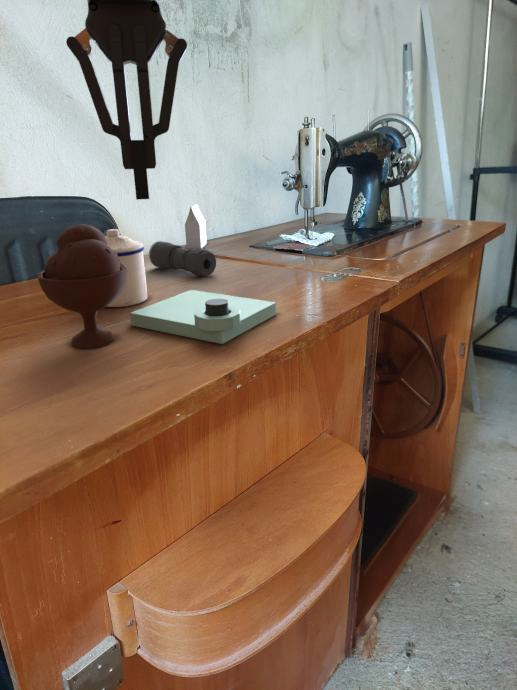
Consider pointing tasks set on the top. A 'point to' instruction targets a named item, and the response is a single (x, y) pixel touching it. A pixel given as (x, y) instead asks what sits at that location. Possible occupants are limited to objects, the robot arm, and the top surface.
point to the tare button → (217, 307)
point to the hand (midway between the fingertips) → (142, 198)
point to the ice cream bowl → (84, 279)
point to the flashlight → (182, 258)
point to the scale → (203, 316)
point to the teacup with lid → (129, 268)
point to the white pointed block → (195, 229)
